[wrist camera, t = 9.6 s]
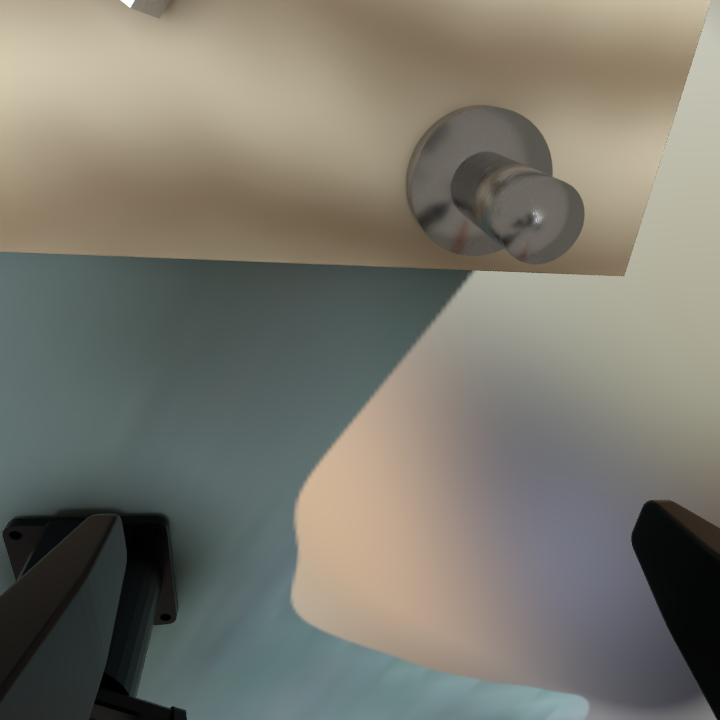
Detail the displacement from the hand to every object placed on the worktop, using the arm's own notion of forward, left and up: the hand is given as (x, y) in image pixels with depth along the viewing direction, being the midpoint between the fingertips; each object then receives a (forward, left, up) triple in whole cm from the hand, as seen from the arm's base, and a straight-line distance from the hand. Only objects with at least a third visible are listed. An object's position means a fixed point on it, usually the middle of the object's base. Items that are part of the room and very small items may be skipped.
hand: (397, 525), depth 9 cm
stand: (+4, -4, -12) cm, 13 cm away
